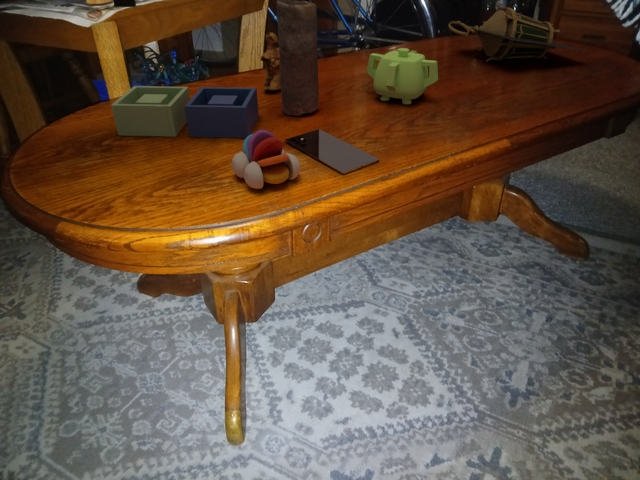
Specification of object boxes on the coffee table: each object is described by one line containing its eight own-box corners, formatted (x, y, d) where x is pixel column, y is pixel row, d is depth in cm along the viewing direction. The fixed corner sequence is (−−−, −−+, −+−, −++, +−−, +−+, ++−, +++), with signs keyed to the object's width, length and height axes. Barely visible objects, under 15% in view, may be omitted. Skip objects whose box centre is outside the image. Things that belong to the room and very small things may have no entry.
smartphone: (342, 172, 78) (283, 138, 88) (342, 176, 78) (283, 141, 89) (379, 159, 82) (319, 127, 92) (379, 162, 82) (319, 130, 92)
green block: (140, 126, 94) (135, 102, 91) (149, 117, 97) (144, 94, 95) (164, 126, 93) (159, 102, 91) (172, 117, 97) (168, 94, 95)
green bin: (118, 135, 92) (110, 105, 89) (140, 114, 101) (133, 85, 97) (176, 136, 91) (170, 106, 88) (192, 115, 100) (188, 86, 97)
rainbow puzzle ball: (256, 198, 72) (252, 151, 68) (227, 173, 79) (221, 128, 75) (307, 182, 76) (306, 136, 72) (275, 159, 83) (272, 116, 79)
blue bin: (189, 137, 91) (184, 106, 88) (204, 115, 100) (200, 86, 96) (248, 138, 90) (245, 107, 87) (258, 116, 99) (256, 87, 96)
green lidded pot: (437, 103, 104) (444, 53, 99) (386, 109, 101) (389, 58, 96) (411, 86, 113) (415, 39, 108) (363, 91, 110) (365, 44, 105)
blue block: (210, 127, 93) (207, 103, 90) (216, 118, 97) (213, 95, 94) (234, 128, 93) (232, 104, 90) (240, 119, 96) (237, 95, 94)
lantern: (576, 82, 127) (483, 61, 114) (512, 67, 146) (426, 48, 133) (599, 24, 121) (504, -5, 109) (529, 16, 140) (442, -9, 127)
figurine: (291, 91, 111) (288, 33, 105) (267, 95, 109) (263, 36, 102) (281, 85, 115) (278, 28, 108) (258, 89, 112) (253, 32, 106)
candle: (283, 103, 105) (278, -4, 93) (319, 103, 104) (318, -4, 93) (280, 117, 98) (273, 4, 87) (318, 117, 98) (316, 4, 87)
